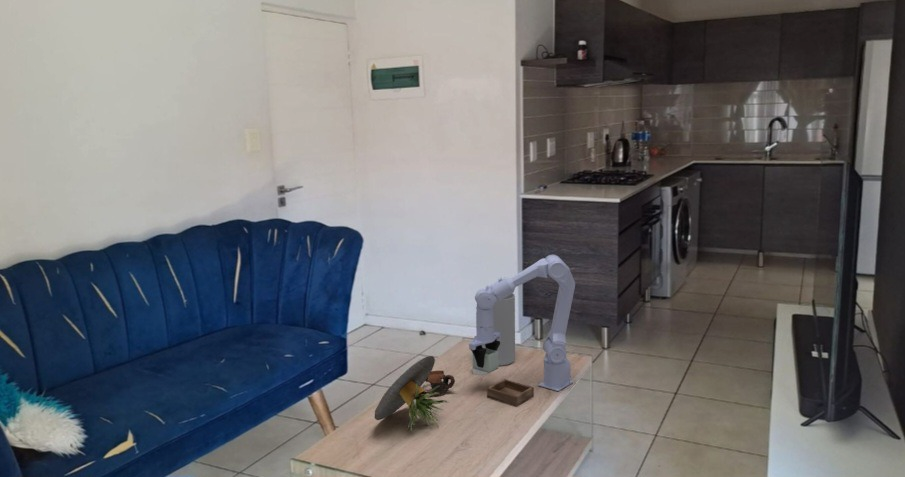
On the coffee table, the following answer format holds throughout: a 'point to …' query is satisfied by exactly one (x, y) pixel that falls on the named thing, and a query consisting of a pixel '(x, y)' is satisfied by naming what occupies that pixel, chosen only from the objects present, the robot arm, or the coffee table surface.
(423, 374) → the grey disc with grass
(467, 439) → the coffee table surface
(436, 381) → the pottery mug
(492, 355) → the green crate
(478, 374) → the white cylinder
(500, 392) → the walnut crate
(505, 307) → the cylinder vase
